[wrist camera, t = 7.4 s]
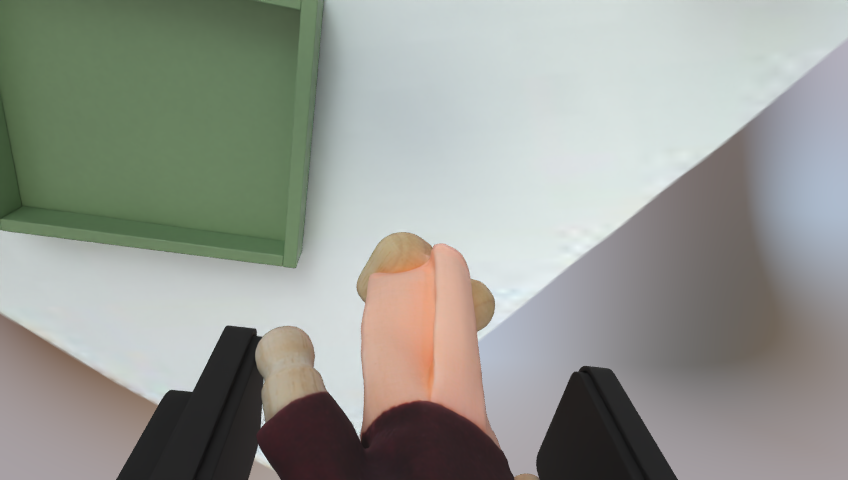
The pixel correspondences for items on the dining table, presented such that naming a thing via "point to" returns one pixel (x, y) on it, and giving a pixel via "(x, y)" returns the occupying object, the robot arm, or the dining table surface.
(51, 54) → the tray
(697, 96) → the dining table surface
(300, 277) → the dining table surface
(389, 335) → the grandmother figurine
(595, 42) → the dining table surface
